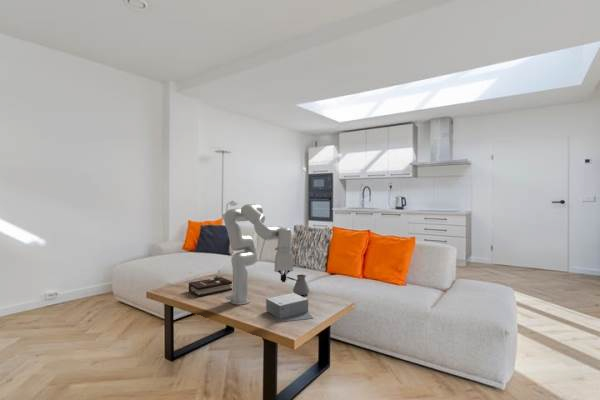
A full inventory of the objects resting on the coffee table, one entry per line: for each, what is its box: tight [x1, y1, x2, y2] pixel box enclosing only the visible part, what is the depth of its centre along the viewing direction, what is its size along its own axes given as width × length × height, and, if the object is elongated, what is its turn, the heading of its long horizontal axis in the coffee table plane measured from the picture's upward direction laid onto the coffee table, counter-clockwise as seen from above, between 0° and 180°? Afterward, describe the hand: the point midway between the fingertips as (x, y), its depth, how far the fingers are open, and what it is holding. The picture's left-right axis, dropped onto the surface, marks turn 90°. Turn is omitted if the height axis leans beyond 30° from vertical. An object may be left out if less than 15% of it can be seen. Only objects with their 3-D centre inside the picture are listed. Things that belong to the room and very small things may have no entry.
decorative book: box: [188, 275, 233, 298], centre depth 223 cm, size 19×8×30 cm
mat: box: [274, 311, 314, 323], centre depth 178 cm, size 20×18×1 cm
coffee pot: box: [286, 274, 310, 296], centre depth 212 cm, size 21×12×15 cm, turn 141°
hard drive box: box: [265, 292, 309, 319], centre depth 182 cm, size 16×8×20 cm
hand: (283, 281), depth 177 cm, fingers closed
